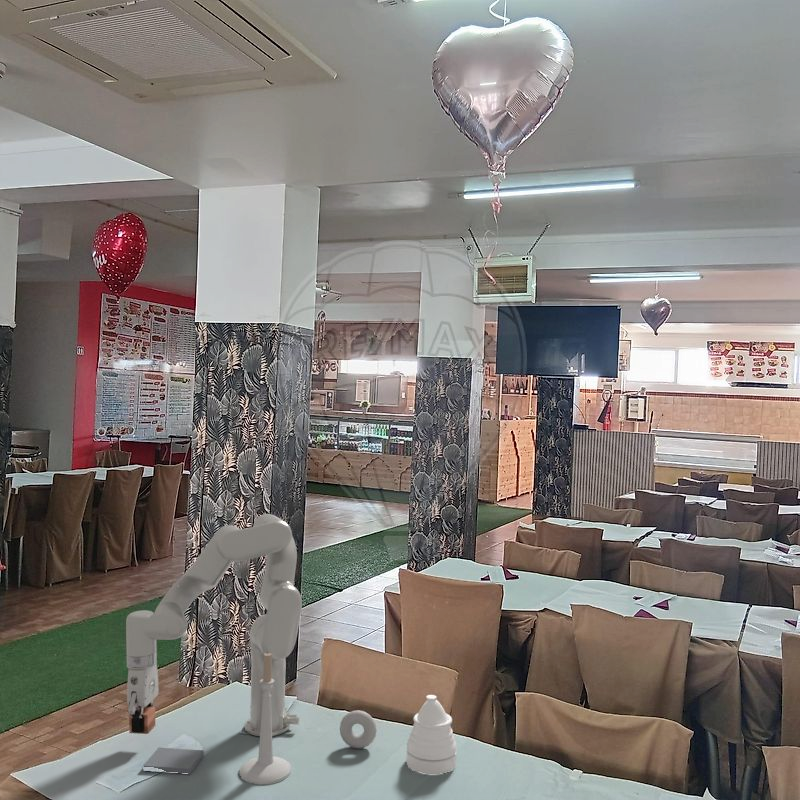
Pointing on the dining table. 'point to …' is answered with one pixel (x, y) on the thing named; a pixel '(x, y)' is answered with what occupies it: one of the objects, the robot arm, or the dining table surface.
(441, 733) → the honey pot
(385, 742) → the dining table surface
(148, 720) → the brown cube
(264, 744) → the candlestick
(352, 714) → the donut
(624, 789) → the dining table surface
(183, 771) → the slate board
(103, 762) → the dining table surface
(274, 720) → the robot arm
